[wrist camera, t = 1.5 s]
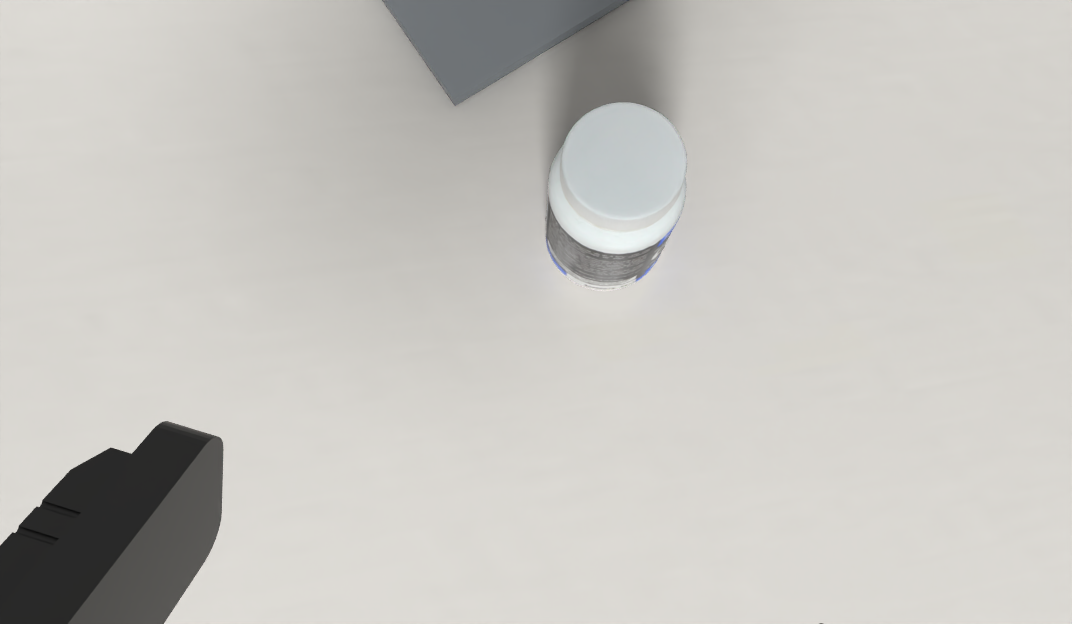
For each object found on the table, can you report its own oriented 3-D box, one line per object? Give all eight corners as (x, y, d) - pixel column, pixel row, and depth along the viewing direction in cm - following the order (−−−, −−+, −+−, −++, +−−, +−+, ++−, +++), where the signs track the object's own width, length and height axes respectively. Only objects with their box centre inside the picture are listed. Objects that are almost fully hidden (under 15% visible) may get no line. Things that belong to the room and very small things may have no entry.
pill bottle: (666, 290, 36) (706, 229, 28) (548, 295, 36) (553, 236, 28) (657, 177, 37) (693, 86, 29) (542, 182, 37) (545, 92, 29)
